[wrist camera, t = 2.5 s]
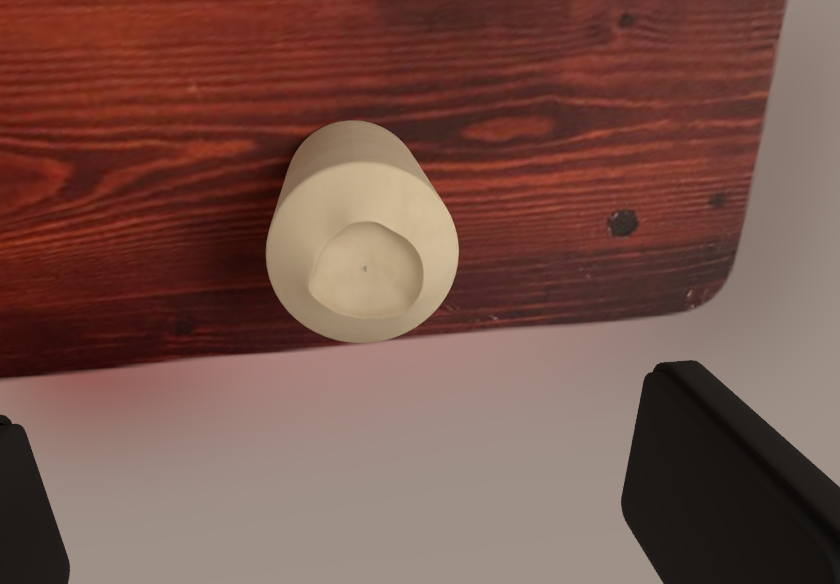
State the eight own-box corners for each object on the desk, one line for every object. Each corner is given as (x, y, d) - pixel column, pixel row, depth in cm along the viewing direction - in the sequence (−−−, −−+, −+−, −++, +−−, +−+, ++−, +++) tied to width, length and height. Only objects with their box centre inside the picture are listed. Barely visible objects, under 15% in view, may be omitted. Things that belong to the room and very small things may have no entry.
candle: (295, 253, 25) (276, 378, 16) (277, 122, 23) (242, 183, 14) (421, 242, 26) (470, 357, 17) (416, 114, 24) (469, 167, 14)
